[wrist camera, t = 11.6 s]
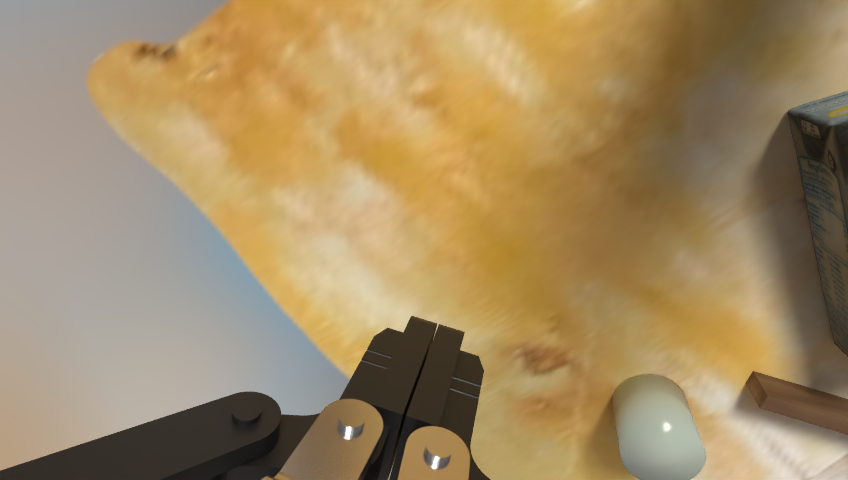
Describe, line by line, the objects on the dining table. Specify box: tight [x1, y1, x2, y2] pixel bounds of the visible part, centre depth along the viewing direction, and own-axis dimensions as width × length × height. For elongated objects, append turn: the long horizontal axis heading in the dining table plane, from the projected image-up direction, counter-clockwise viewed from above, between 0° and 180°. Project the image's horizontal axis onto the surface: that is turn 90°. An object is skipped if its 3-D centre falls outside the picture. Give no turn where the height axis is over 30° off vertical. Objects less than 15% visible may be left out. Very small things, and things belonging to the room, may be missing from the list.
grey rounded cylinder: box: [612, 374, 706, 480], centre depth 41 cm, size 6×6×6 cm
